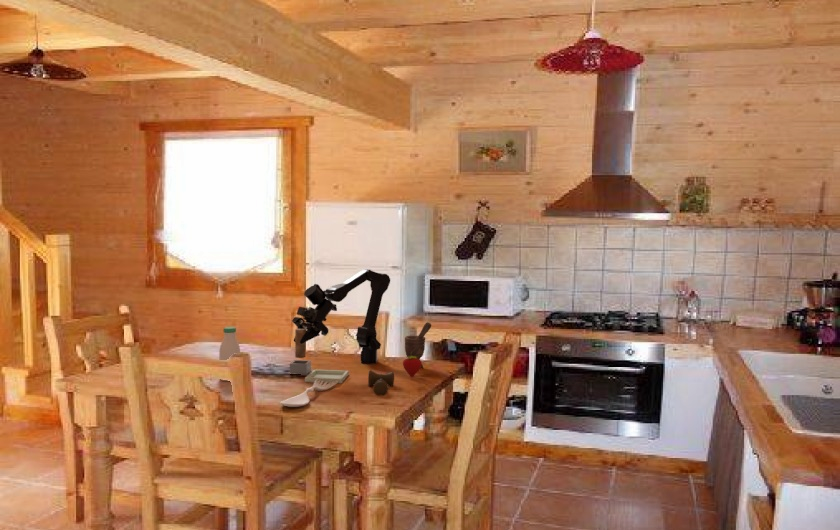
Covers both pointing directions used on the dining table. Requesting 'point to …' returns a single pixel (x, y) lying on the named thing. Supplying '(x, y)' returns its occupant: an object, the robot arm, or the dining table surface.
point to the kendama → (380, 382)
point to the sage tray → (327, 376)
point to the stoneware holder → (300, 367)
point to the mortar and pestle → (416, 343)
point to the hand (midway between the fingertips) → (297, 342)
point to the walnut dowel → (300, 348)
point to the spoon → (303, 398)
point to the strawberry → (412, 365)
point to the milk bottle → (228, 344)
